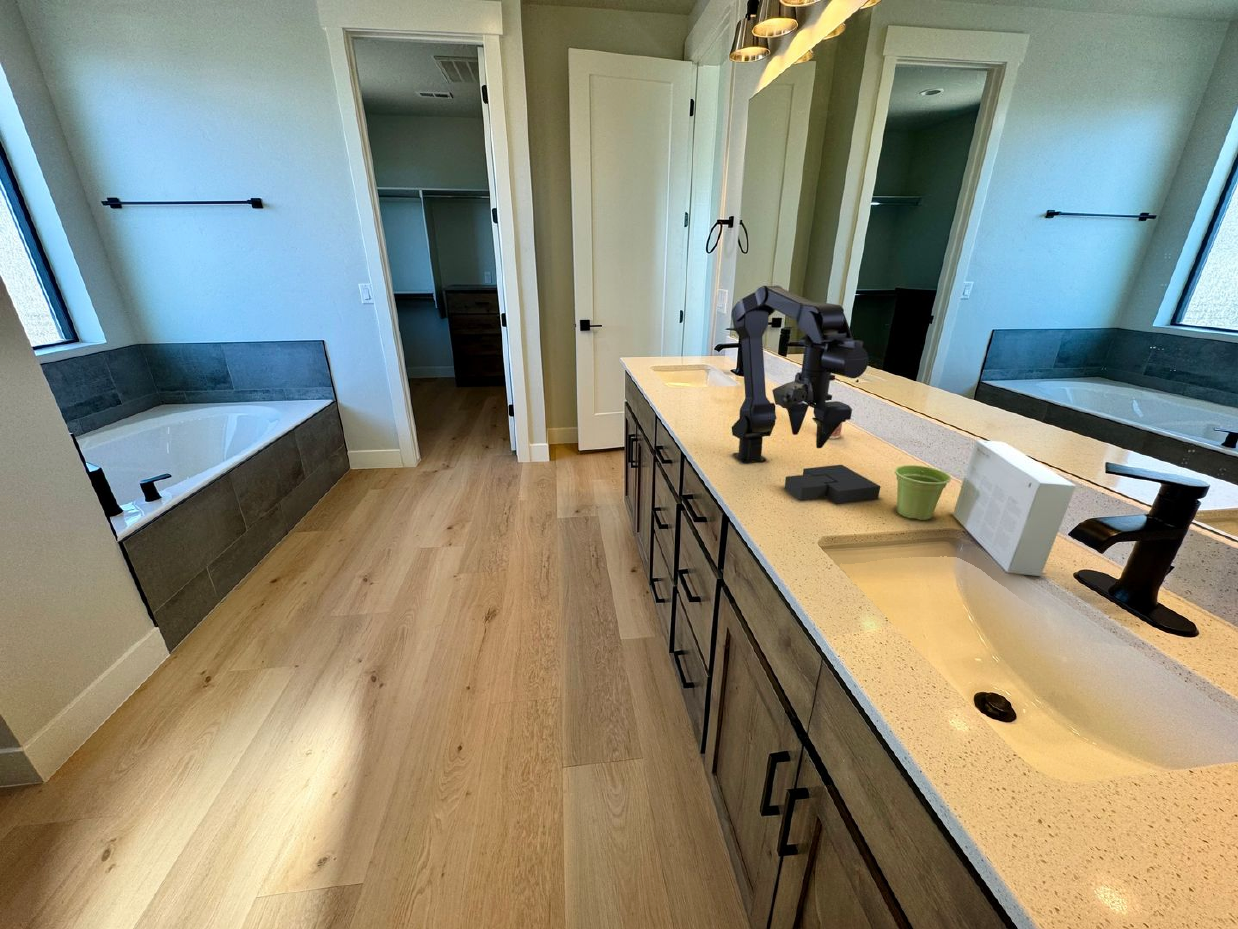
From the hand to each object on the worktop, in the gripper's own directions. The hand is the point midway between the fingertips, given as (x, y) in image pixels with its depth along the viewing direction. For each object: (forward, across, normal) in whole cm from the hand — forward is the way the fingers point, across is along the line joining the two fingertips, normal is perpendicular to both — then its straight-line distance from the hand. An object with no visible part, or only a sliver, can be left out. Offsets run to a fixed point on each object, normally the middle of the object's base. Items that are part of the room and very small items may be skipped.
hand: (806, 441), depth 106 cm
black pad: (+11, +3, +1) cm, 12 cm away
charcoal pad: (+11, +3, +8) cm, 14 cm away
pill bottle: (+12, -31, +28) cm, 44 cm away
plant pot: (+11, +17, +15) cm, 25 cm away
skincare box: (+11, +30, +20) cm, 37 cm away
